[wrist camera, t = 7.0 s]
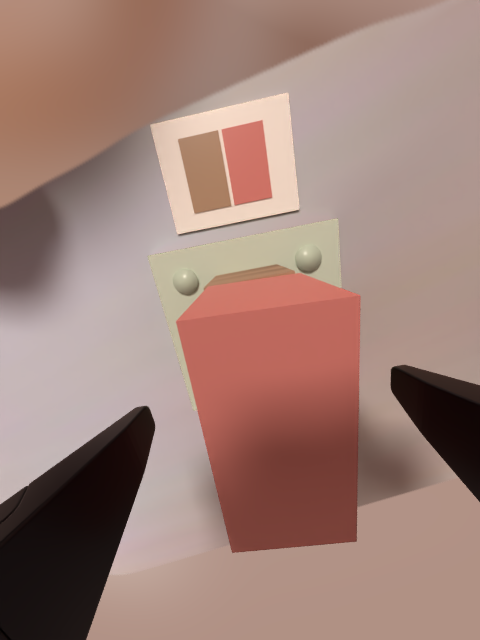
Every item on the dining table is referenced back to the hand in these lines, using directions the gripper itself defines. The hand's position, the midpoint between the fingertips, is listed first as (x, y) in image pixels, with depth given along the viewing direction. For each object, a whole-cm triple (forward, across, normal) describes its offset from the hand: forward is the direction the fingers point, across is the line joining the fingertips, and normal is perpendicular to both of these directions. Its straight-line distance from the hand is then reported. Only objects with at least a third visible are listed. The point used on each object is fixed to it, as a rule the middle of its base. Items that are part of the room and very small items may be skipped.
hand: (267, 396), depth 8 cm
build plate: (+9, 0, 0) cm, 9 cm away
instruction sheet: (+9, 0, -10) cm, 13 cm away
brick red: (+3, 0, 0) cm, 3 cm away
